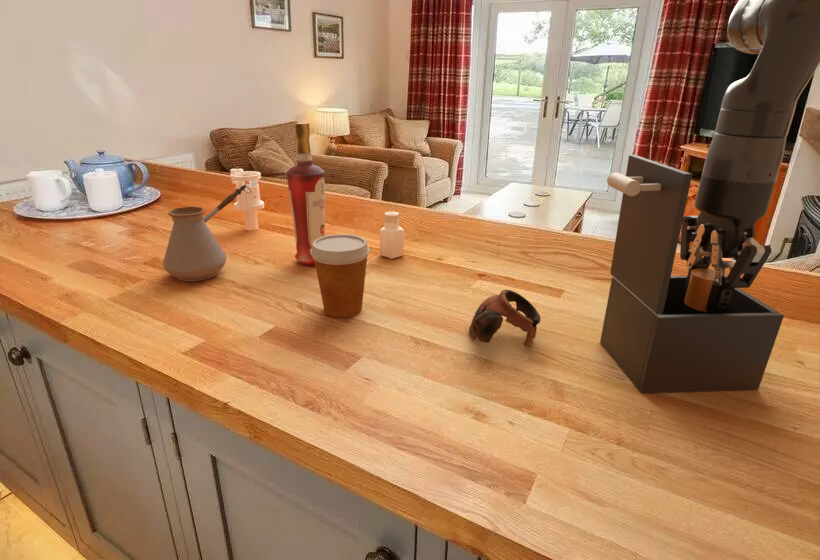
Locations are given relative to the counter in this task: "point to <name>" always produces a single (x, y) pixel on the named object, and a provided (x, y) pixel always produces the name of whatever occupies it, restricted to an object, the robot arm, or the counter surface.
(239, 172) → the white plastic fitting
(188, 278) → the coffee pot
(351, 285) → the disposable coffee cup
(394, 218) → the white medicine bottle
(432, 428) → the counter surface
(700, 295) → the orange cylinder
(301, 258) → the liquor
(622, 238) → the box lid with handle
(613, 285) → the dark grey storage bin
